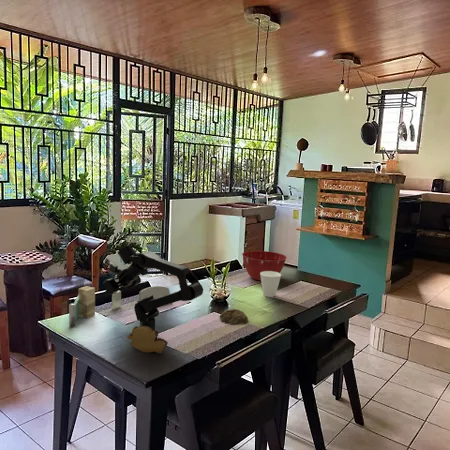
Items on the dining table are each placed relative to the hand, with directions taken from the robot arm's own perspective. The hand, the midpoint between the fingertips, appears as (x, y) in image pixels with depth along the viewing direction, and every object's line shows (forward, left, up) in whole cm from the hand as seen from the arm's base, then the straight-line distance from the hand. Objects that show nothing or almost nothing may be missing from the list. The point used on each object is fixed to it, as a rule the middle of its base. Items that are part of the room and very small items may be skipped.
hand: (112, 292), depth 180 cm
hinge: (+7, -29, -14) cm, 33 cm away
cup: (-24, -86, -14) cm, 90 cm away
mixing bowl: (-1, -111, -14) cm, 112 cm away
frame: (+11, +1, -14) cm, 17 cm away
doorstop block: (+14, +4, -14) cm, 20 cm away
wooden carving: (-33, +6, -14) cm, 36 cm away
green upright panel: (+16, +7, -13) cm, 22 cm away
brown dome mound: (-34, -43, -14) cm, 57 cm away
